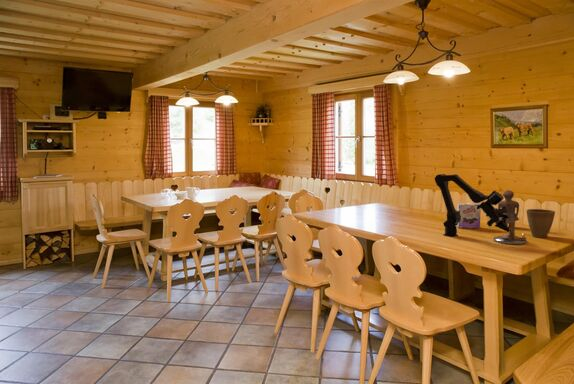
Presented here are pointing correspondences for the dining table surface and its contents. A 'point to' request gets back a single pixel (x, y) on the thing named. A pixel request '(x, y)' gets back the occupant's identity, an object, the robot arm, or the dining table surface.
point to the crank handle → (512, 233)
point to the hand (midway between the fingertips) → (509, 231)
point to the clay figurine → (510, 206)
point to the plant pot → (540, 221)
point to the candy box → (469, 216)
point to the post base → (508, 242)
